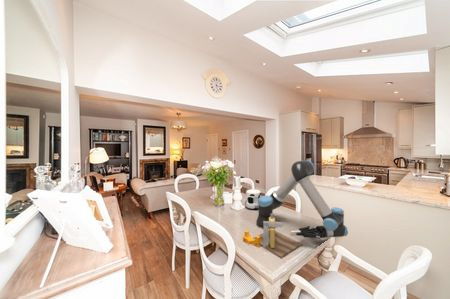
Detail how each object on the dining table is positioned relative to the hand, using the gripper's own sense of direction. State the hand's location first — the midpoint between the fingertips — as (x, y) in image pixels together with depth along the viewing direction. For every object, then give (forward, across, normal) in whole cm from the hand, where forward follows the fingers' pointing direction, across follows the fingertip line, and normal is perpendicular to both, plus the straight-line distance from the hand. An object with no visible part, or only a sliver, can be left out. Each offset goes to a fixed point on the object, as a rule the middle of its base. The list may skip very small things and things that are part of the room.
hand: (291, 233), depth 119 cm
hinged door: (+12, +5, -6) cm, 14 cm away
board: (+10, +3, -8) cm, 13 cm away
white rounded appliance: (+8, +70, -8) cm, 71 cm away
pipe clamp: (+27, +4, -8) cm, 28 cm away
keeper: (+14, -2, -8) cm, 16 cm away
